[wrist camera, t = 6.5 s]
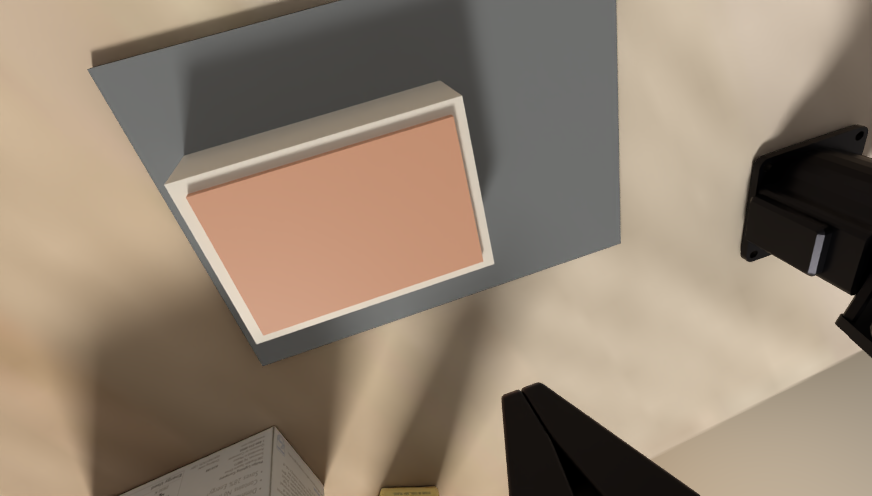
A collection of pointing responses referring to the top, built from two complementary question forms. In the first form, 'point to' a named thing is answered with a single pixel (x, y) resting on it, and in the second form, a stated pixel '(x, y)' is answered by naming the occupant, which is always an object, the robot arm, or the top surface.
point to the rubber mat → (395, 72)
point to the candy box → (410, 491)
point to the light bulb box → (241, 472)
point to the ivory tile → (338, 209)
